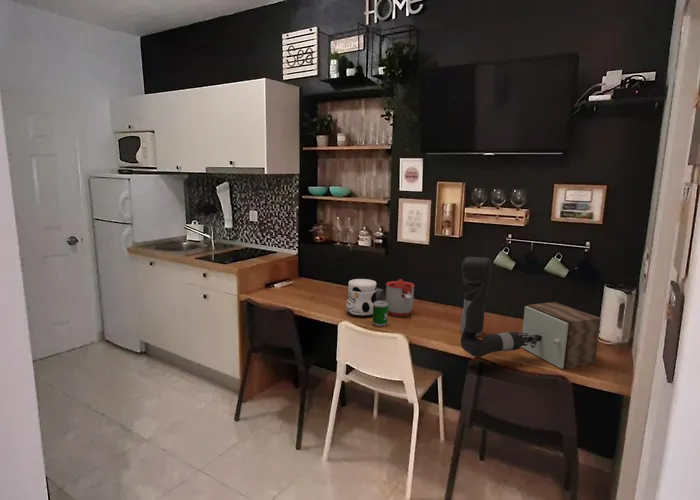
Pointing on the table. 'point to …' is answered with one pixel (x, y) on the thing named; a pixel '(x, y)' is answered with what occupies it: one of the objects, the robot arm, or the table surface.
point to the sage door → (546, 336)
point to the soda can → (380, 313)
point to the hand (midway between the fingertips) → (540, 337)
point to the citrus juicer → (399, 297)
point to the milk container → (361, 297)
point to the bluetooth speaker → (380, 294)
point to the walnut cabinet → (575, 333)
